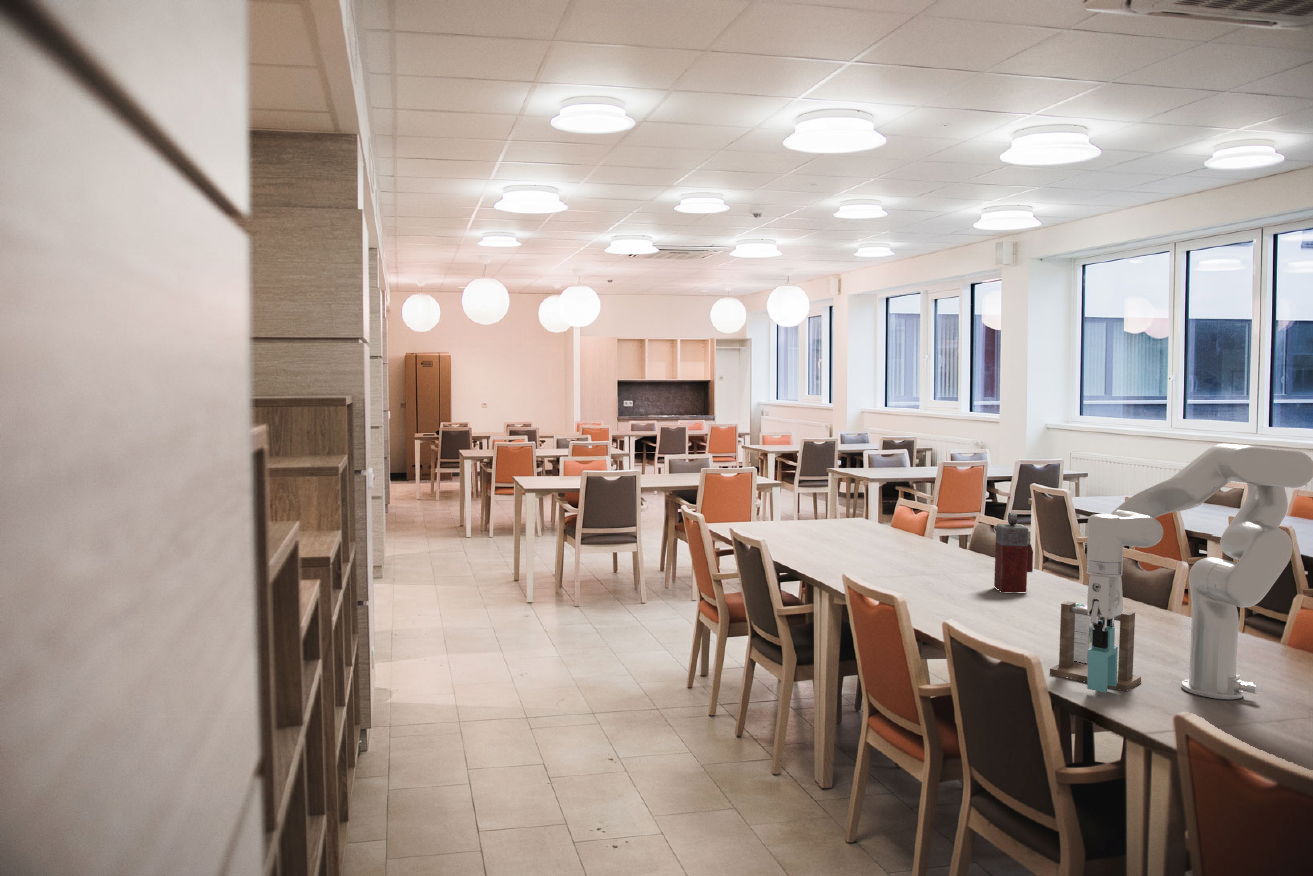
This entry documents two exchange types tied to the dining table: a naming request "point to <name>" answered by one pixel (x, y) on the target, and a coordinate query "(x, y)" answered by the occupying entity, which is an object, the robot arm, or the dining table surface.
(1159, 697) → the dining table surface
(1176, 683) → the dining table surface
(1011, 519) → the dark red lidded canister
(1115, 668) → the teal block figure
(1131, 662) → the hanger rack
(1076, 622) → the syrup box
